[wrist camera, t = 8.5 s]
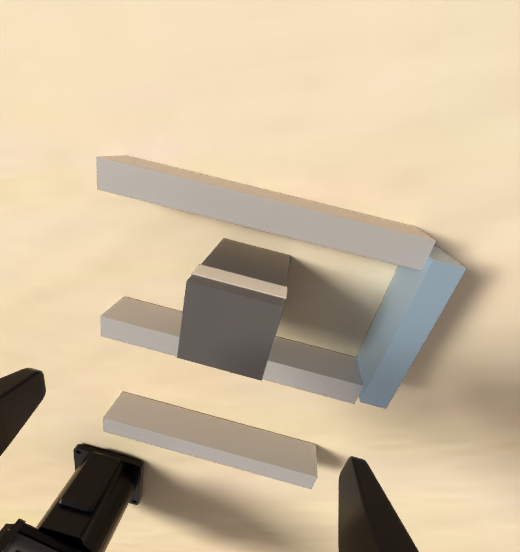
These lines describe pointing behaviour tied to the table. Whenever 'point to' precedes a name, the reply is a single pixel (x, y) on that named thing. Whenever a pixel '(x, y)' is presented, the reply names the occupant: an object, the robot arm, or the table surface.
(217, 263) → the grey capped block
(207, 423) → the grey rectangular bars
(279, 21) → the table surface
